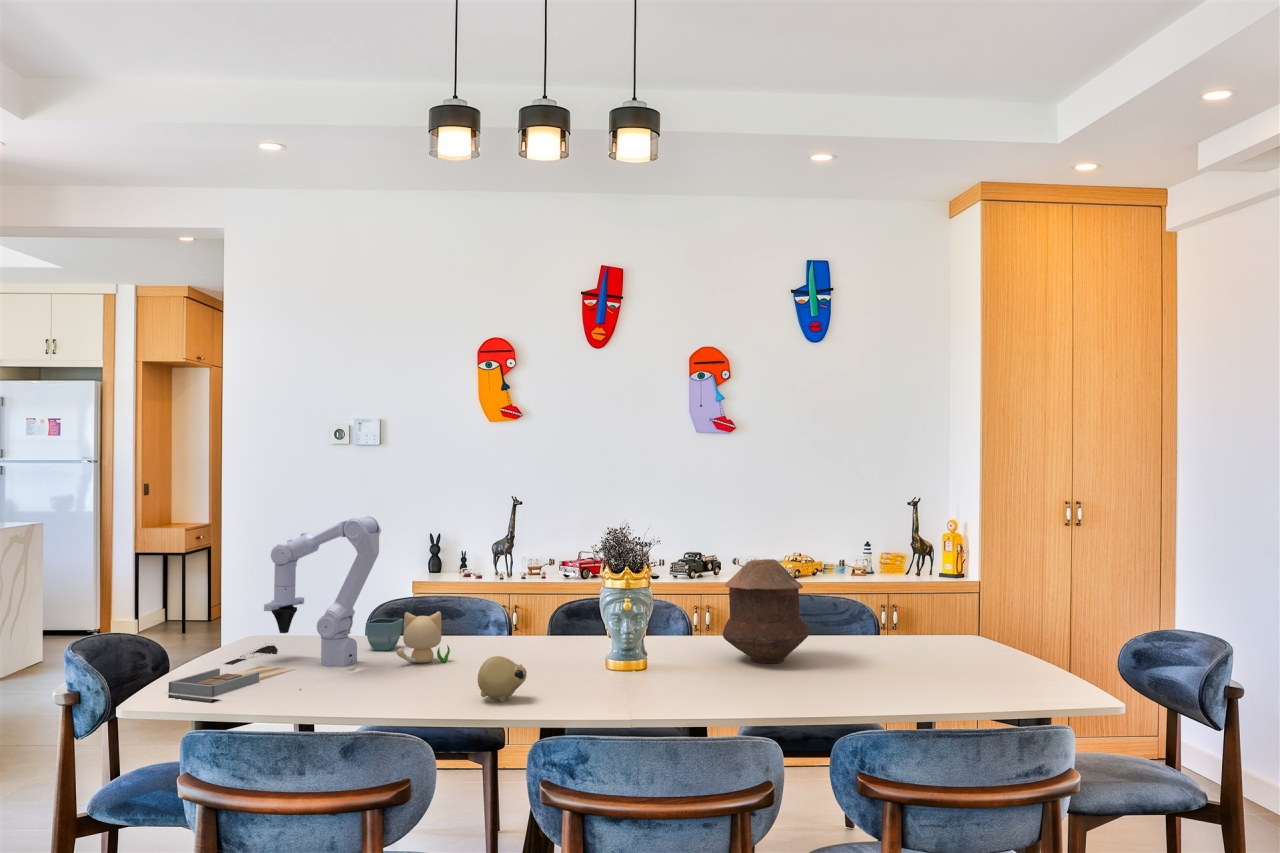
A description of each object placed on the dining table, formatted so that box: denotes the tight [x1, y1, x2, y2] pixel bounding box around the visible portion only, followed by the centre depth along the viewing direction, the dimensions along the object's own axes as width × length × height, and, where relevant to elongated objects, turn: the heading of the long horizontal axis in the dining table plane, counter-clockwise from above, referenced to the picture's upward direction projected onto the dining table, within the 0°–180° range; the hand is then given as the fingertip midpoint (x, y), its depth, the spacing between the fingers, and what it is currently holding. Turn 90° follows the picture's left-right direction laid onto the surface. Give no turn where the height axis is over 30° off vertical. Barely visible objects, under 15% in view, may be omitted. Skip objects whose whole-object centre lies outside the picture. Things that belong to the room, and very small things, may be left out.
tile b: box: [196, 679, 227, 685], centre depth 222 cm, size 5×5×3 cm
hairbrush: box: [224, 642, 279, 666], centre depth 258 cm, size 8×4×25 cm
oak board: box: [234, 665, 296, 682], centre depth 239 cm, size 12×15×2 cm
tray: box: [167, 667, 260, 704], centre depth 225 cm, size 14×16×4 cm
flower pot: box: [365, 618, 404, 651], centre depth 279 cm, size 9×9×9 cm
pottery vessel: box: [722, 558, 810, 664], centre depth 264 cm, size 26×26×30 cm
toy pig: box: [477, 655, 527, 703], centre depth 219 cm, size 10×12×11 cm
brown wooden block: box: [212, 672, 242, 681], centre depth 228 cm, size 5×5×3 cm
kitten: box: [396, 610, 451, 664], centre depth 260 cm, size 15×10×15 cm, turn 100°
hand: (284, 632), depth 256 cm, fingers closed
